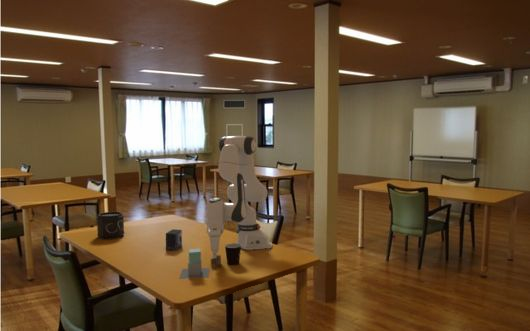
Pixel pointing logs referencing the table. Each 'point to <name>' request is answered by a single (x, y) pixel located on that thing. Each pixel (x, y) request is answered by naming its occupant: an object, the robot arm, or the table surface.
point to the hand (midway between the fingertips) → (215, 254)
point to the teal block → (194, 256)
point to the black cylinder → (110, 225)
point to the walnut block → (216, 261)
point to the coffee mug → (233, 253)
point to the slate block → (194, 268)
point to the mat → (203, 275)
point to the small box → (173, 239)
